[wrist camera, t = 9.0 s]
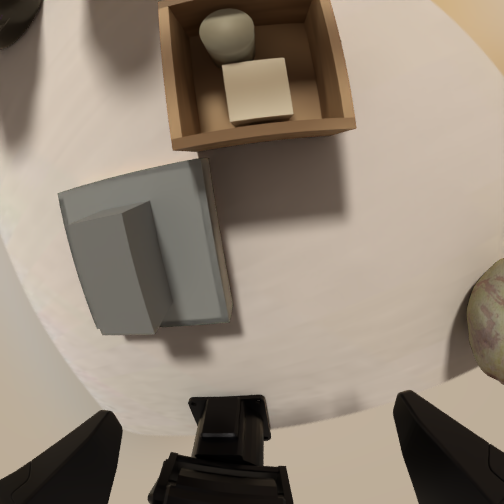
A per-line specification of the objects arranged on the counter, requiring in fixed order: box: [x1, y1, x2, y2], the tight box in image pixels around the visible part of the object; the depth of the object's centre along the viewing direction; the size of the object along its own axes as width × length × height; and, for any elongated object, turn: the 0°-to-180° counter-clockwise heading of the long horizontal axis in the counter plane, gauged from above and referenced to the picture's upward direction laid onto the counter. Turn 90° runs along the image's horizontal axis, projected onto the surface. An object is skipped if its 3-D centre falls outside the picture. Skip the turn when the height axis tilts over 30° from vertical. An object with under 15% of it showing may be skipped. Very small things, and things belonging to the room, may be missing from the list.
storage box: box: [158, 0, 356, 152], centre depth 13 cm, size 8×8×5 cm
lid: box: [58, 158, 233, 335], centre depth 15 cm, size 9×9×6 cm
